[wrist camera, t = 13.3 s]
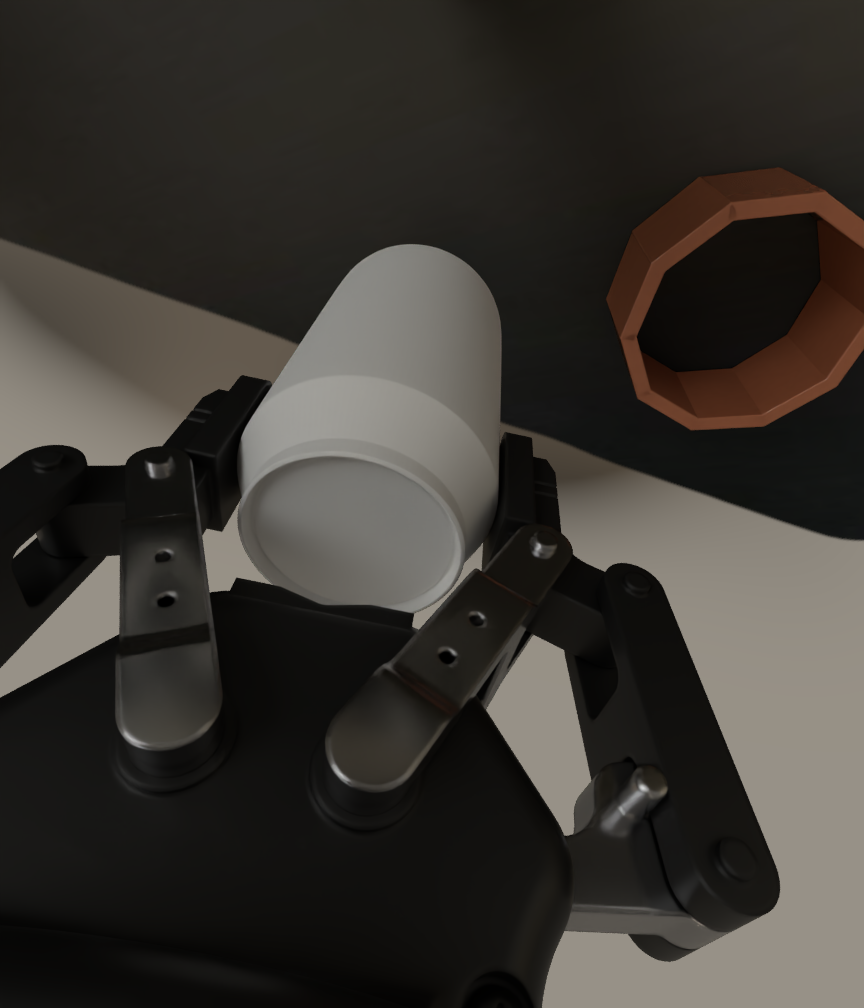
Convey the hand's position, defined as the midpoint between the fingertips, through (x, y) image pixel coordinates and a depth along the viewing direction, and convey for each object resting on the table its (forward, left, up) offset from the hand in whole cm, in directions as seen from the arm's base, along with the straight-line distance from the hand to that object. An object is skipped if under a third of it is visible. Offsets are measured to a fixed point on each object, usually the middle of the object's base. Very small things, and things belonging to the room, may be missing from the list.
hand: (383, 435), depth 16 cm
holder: (+14, +1, -18) cm, 23 cm away
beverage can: (0, 0, -8) cm, 8 cm away
